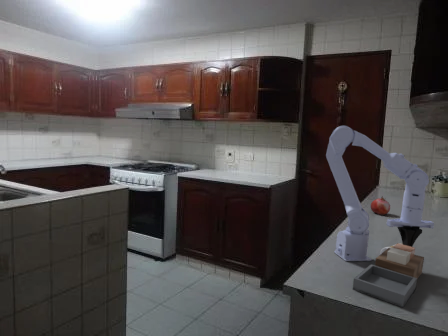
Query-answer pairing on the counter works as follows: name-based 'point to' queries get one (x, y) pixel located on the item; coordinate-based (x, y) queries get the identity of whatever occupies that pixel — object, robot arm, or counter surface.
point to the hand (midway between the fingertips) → (406, 249)
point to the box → (385, 284)
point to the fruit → (380, 206)
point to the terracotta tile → (405, 249)
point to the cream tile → (398, 256)
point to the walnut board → (401, 265)
